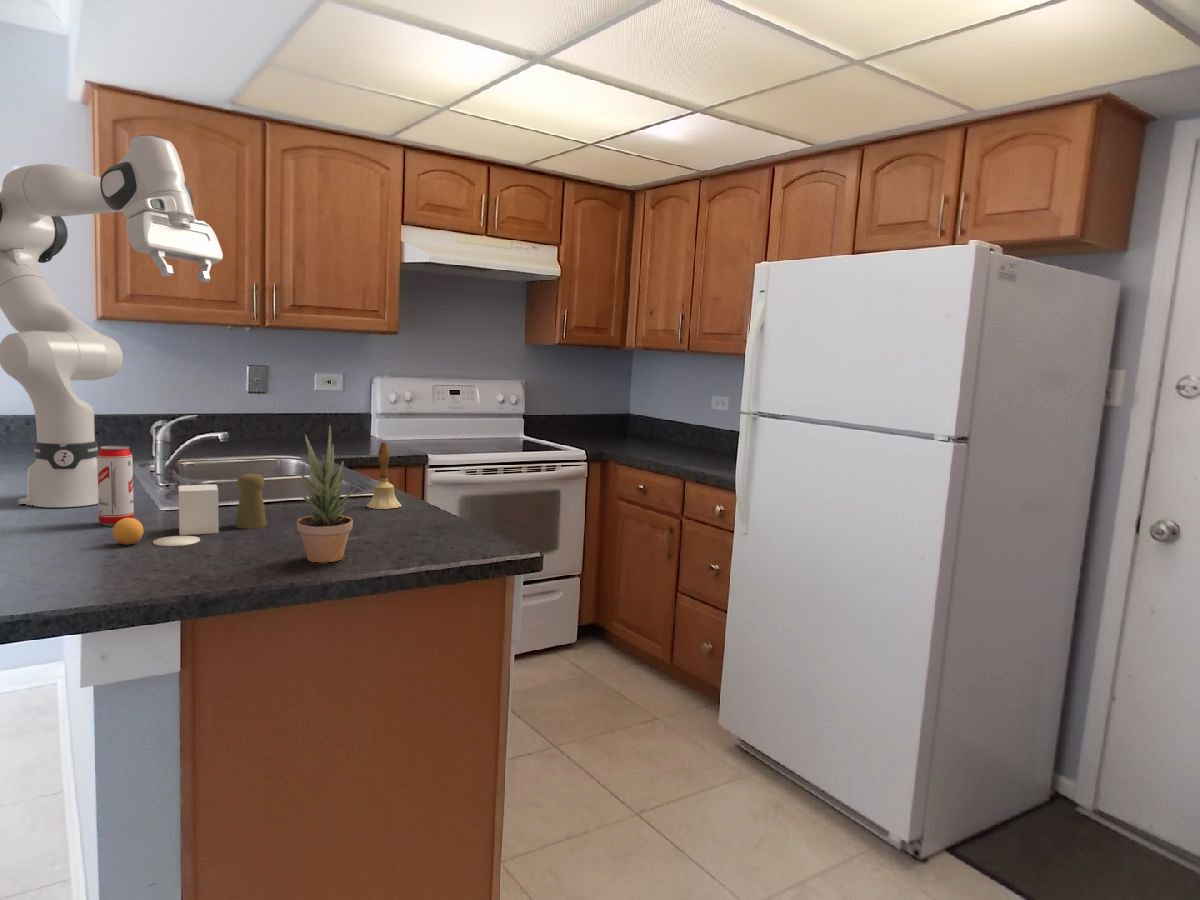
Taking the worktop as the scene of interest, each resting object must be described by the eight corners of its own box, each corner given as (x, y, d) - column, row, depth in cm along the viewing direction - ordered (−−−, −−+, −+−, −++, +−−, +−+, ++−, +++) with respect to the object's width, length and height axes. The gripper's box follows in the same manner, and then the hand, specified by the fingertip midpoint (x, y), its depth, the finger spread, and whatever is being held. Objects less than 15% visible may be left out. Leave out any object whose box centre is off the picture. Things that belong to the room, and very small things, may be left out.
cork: (257, 521, 175) (257, 471, 174) (272, 526, 171) (272, 474, 170) (230, 525, 170) (229, 473, 169) (244, 530, 167) (244, 477, 165)
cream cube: (179, 527, 166) (178, 485, 165) (217, 525, 169) (216, 484, 168) (179, 535, 160) (178, 491, 159) (218, 532, 163) (218, 489, 162)
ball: (113, 542, 152) (113, 516, 151) (144, 540, 154) (143, 514, 154) (111, 548, 148) (111, 521, 147) (143, 546, 150) (142, 520, 149)
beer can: (129, 519, 172) (127, 444, 170) (137, 524, 167) (136, 448, 165) (95, 522, 167) (93, 446, 165) (103, 528, 163) (101, 449, 161)
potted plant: (298, 567, 140) (298, 426, 137) (295, 554, 149) (295, 421, 146) (358, 564, 144) (359, 426, 141) (351, 551, 153) (352, 421, 150)
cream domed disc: (153, 538, 156) (153, 537, 156) (199, 535, 160) (199, 534, 160) (152, 547, 149) (152, 546, 149) (200, 544, 153) (200, 543, 153)
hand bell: (382, 511, 192) (383, 444, 190) (359, 506, 196) (359, 441, 195) (408, 507, 199) (409, 442, 197) (385, 502, 203) (386, 439, 202)
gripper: (199, 227, 177) (214, 288, 176) (115, 208, 157) (132, 277, 157) (220, 217, 174) (236, 279, 174) (138, 197, 155) (156, 266, 155)
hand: (186, 278), depth 166 cm, fingers open, 8 cm apart
